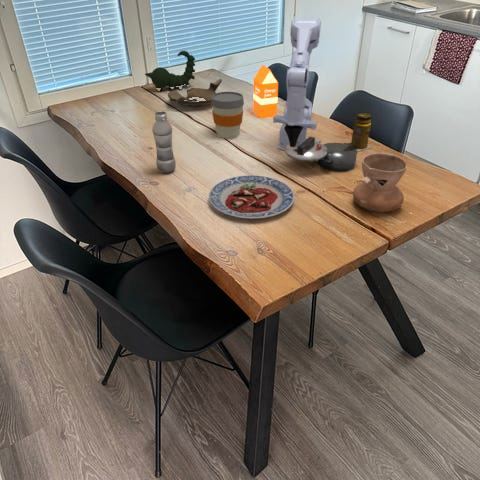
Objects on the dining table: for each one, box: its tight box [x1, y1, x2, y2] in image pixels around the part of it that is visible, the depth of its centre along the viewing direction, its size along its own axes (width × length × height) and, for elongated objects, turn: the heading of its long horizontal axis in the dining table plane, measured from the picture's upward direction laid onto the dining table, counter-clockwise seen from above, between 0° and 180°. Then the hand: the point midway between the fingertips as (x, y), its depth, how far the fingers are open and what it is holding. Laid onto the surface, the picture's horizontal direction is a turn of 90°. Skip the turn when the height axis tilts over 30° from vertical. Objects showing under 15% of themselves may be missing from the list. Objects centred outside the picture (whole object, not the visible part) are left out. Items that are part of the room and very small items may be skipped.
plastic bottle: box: [152, 110, 177, 174], centre depth 149 cm, size 6×7×20 cm
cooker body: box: [316, 142, 358, 173], centre depth 159 cm, size 16×18×5 cm
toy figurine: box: [144, 50, 196, 89], centre depth 224 cm, size 9×19×25 cm
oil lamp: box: [167, 78, 223, 107], centre depth 210 cm, size 22×30×8 cm
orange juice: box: [252, 64, 279, 119], centre depth 194 cm, size 8×9×20 cm
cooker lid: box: [285, 136, 327, 162], centre depth 154 cm, size 16×14×4 cm
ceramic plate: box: [208, 174, 296, 220], centre depth 138 cm, size 26×26×3 cm
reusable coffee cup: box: [210, 91, 245, 139], centre depth 177 cm, size 13×12×15 cm
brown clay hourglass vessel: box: [352, 152, 408, 213], centre depth 133 cm, size 18×14×14 cm
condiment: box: [348, 112, 373, 152], centre depth 168 cm, size 7×8×12 cm
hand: (292, 145), depth 154 cm, fingers closed
